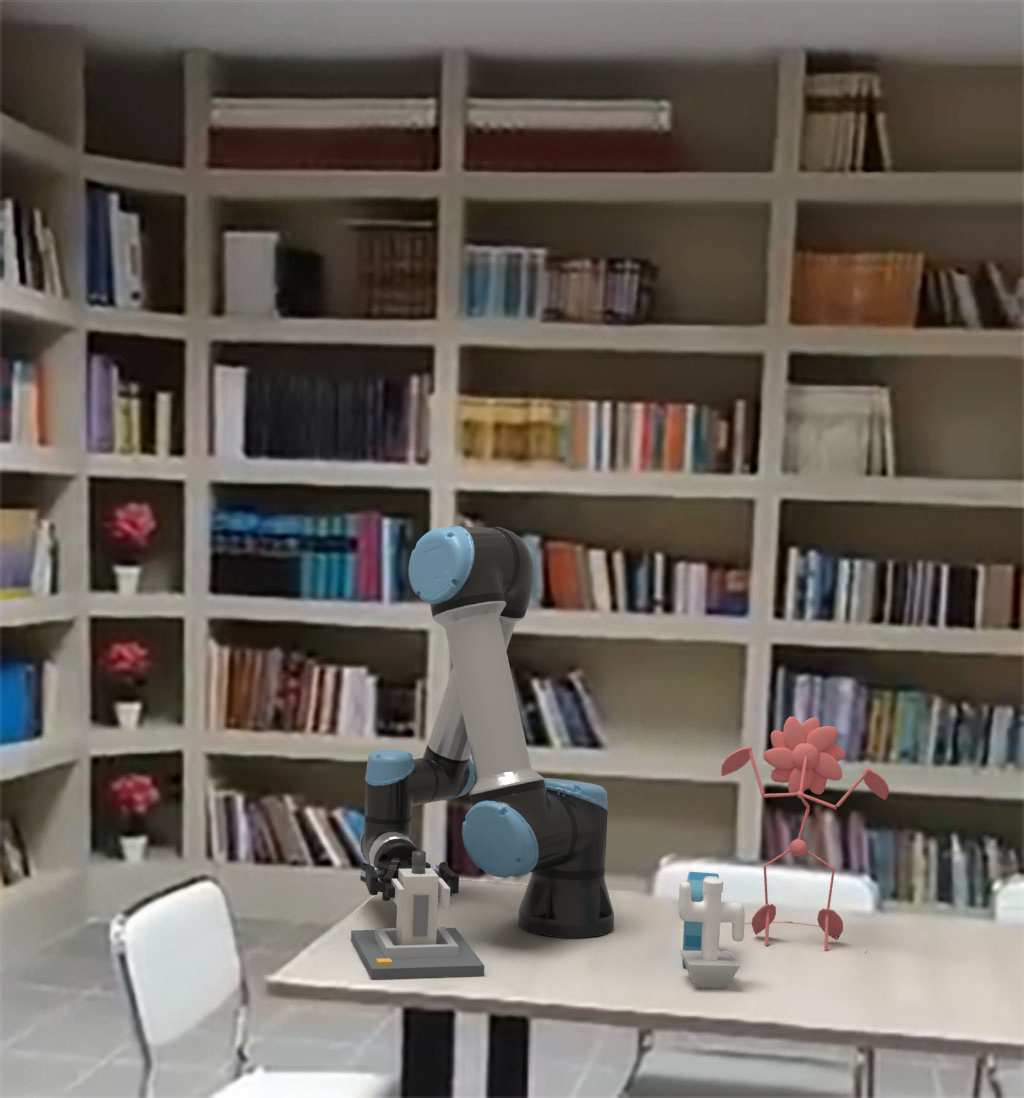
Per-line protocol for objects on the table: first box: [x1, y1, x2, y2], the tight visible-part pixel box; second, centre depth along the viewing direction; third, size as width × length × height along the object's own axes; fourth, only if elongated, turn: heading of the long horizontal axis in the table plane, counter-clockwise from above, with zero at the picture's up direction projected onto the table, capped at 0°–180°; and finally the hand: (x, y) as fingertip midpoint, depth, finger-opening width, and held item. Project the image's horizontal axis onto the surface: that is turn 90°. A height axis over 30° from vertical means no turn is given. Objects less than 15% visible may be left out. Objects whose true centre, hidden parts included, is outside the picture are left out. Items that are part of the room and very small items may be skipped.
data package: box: [681, 871, 720, 968], centre depth 246 cm, size 12×4×12 cm, turn 171°
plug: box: [395, 850, 439, 945], centre depth 241 cm, size 5×6×14 cm
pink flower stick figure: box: [720, 716, 890, 954], centre depth 260 cm, size 15×26×35 cm, turn 81°
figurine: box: [678, 876, 746, 989], centre depth 234 cm, size 7×9×15 cm
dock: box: [350, 926, 485, 981], centre depth 241 cm, size 16×20×3 cm
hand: (424, 898), depth 236 cm, fingers open, 6 cm apart
